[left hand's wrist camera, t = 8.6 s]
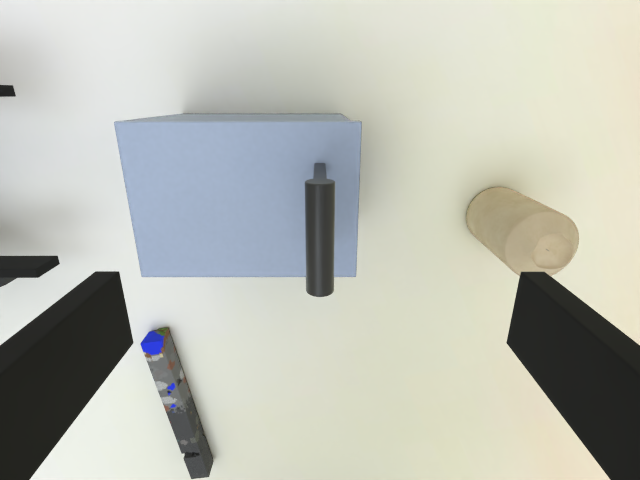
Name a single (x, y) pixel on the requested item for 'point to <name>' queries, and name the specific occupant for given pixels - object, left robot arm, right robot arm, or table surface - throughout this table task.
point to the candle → (522, 231)
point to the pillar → (177, 401)
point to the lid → (244, 198)
